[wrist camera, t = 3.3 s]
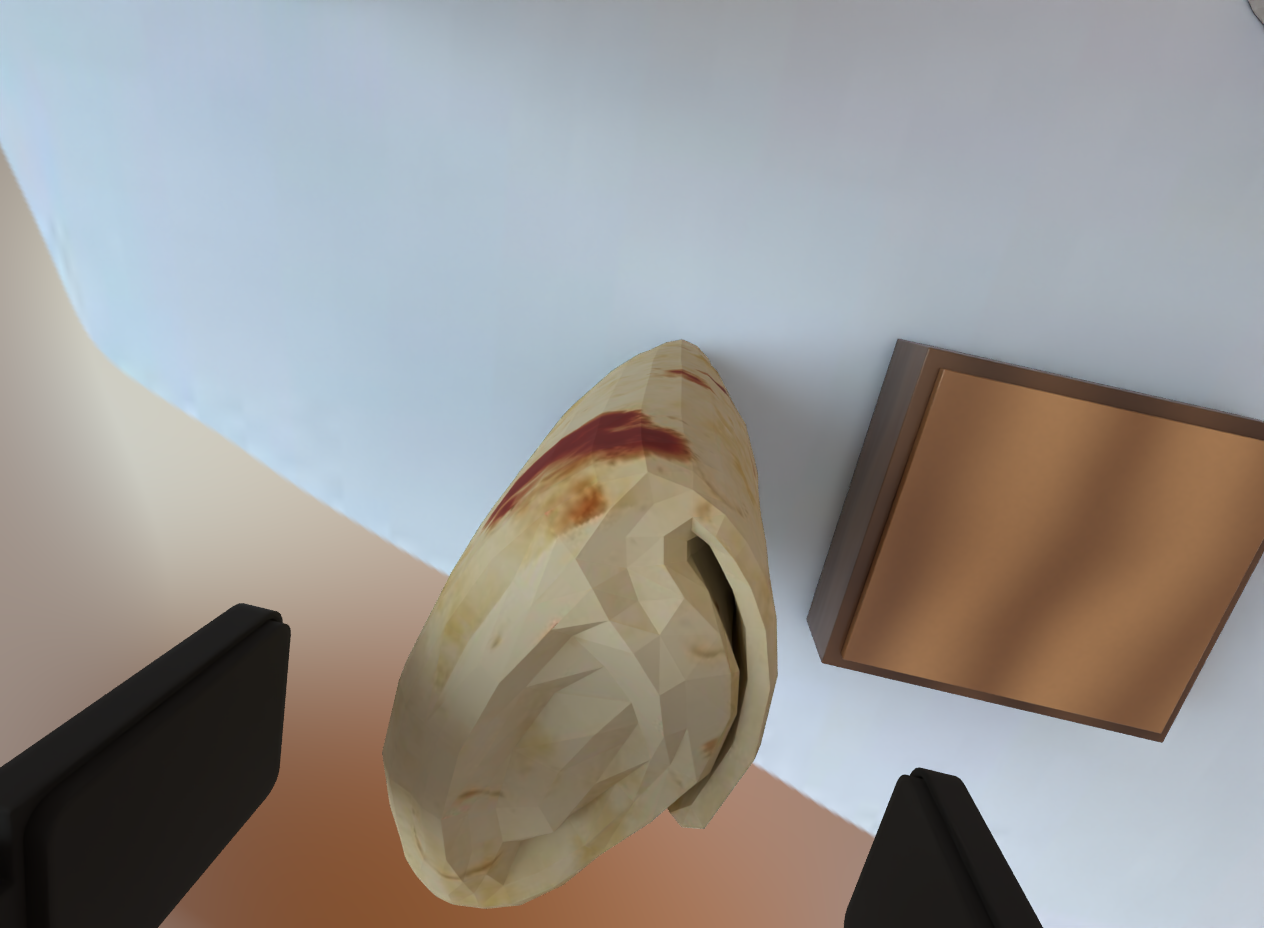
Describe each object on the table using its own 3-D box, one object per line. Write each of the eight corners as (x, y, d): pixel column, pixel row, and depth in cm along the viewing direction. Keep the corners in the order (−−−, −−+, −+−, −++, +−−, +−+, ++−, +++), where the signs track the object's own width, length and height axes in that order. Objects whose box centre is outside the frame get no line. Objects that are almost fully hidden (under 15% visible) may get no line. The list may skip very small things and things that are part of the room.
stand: (806, 619, 30) (823, 669, 26) (897, 338, 27) (932, 347, 23) (1108, 689, 30) (1170, 750, 26) (1242, 415, 26) (1336, 439, 23)
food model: (629, 301, 27) (486, 352, 8) (771, 378, 27) (965, 608, 8) (528, 498, 30) (238, 895, 11) (658, 566, 30) (607, 1071, 11)
